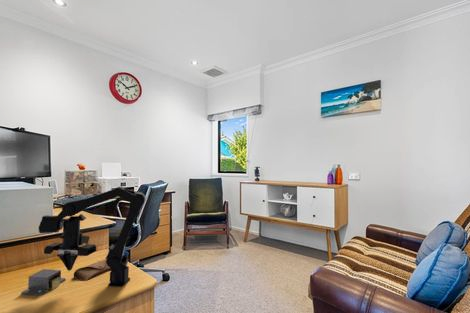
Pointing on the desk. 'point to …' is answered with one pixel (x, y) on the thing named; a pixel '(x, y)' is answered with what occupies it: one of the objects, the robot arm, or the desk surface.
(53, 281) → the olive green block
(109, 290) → the desk surface
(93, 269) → the sunglasses case
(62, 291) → the desk surface
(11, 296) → the desk surface
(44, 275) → the flanged grey block
